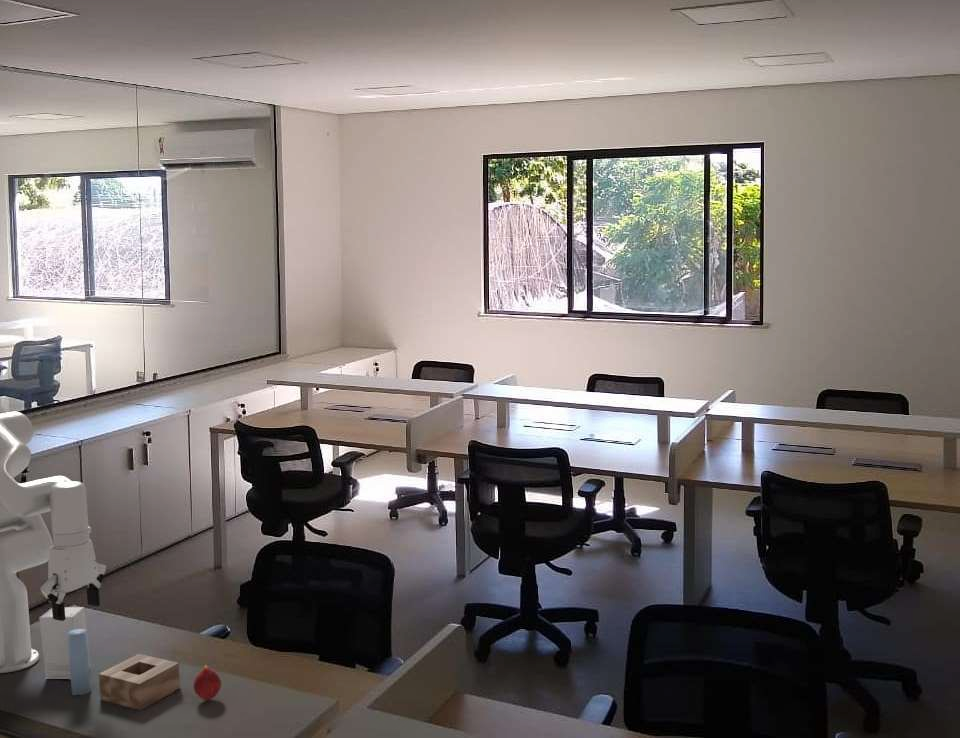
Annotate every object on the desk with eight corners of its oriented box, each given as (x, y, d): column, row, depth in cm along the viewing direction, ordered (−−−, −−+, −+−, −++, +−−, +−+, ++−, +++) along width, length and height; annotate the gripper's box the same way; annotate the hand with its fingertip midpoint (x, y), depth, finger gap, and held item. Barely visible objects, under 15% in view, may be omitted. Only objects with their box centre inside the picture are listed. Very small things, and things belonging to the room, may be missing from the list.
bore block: (100, 699, 230) (98, 673, 230) (140, 678, 241) (139, 653, 240) (140, 710, 225) (139, 683, 224) (180, 688, 236) (178, 662, 235)
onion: (227, 697, 231) (225, 663, 230) (210, 708, 226) (208, 673, 225) (206, 692, 233) (204, 658, 232) (189, 703, 228) (187, 668, 227)
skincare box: (91, 669, 246) (86, 606, 244) (77, 681, 240) (73, 617, 238) (57, 668, 247) (52, 605, 245) (43, 680, 241) (38, 616, 238)
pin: (67, 693, 234) (63, 634, 232) (81, 686, 237) (77, 627, 235) (80, 697, 232) (76, 637, 230) (94, 689, 235) (90, 630, 233)
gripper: (89, 525, 239) (94, 597, 241) (26, 546, 224) (32, 623, 226) (113, 529, 235) (118, 602, 238) (51, 550, 220) (57, 628, 222)
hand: (76, 612), depth 232 cm, fingers open, 9 cm apart
